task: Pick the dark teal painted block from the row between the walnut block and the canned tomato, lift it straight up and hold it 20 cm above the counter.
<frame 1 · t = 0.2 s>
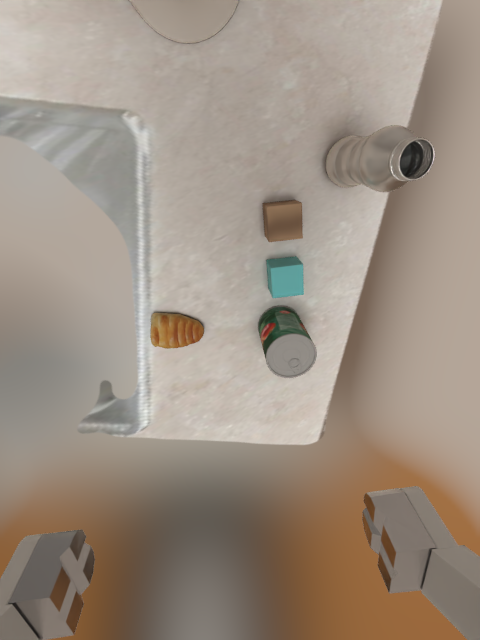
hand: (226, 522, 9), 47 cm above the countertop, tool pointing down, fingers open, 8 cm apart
plastic bottle: (342, 162, 49), on the countertop
teal block: (281, 272, 56), on the countertop
walnut block: (279, 218, 52), on the countertop
canned tomato: (278, 324, 60), on the countertop
pastry: (174, 326, 59), on the countertop
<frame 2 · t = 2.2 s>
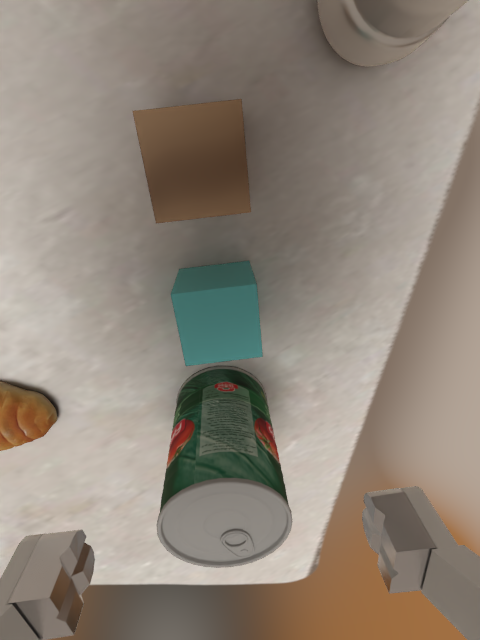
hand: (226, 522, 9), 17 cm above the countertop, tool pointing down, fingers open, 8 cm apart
plastic bottle: (364, 1, 18), on the countertop
teal block: (218, 296, 24), on the countertop
walnut block: (200, 164, 20), on the countertop
canned tomato: (222, 401, 29), on the countertop
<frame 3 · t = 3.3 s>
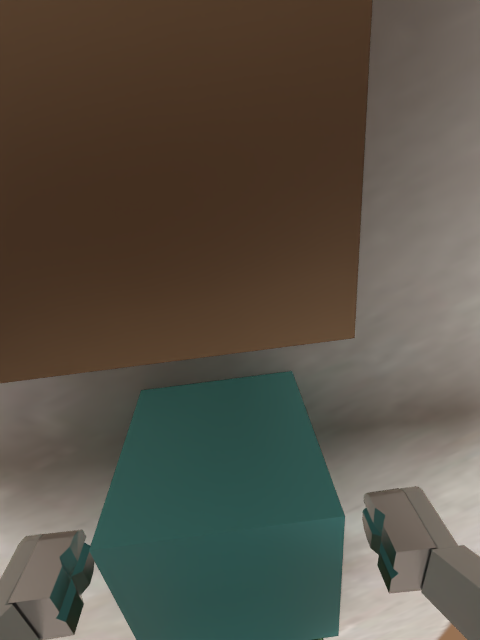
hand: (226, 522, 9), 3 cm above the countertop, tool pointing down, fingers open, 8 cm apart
teal block: (226, 434, 12), on the countertop
walnut block: (180, 163, 8), on the countertop
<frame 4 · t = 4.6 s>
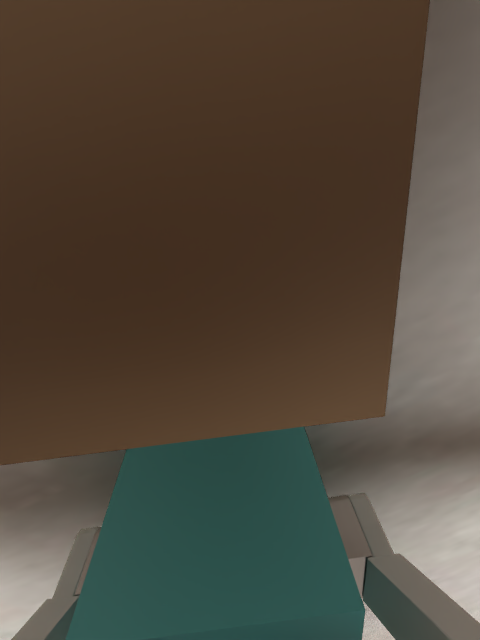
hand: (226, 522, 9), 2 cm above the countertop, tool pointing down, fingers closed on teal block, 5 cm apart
teal block: (225, 475, 11), on the countertop, touching gripper
walnut block: (176, 186, 7), on the countertop
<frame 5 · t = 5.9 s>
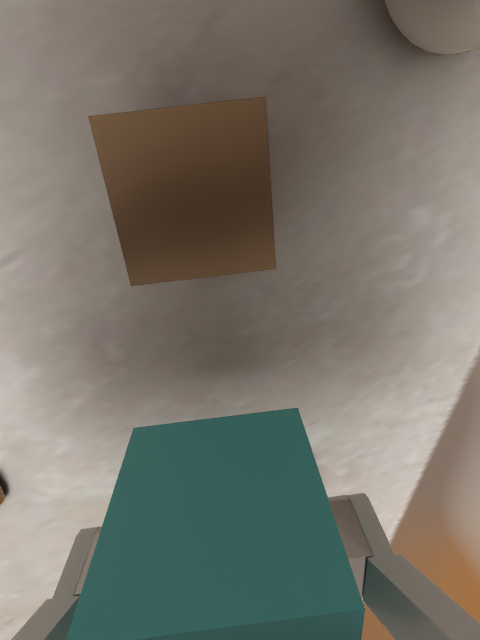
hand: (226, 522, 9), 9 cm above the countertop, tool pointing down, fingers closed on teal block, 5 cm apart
teal block: (225, 475, 11), point 8 cm above the countertop, touching gripper
walnut block: (199, 192, 15), on the countertop
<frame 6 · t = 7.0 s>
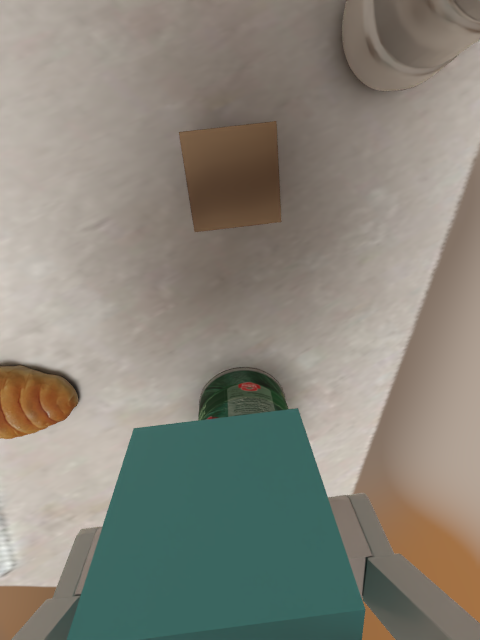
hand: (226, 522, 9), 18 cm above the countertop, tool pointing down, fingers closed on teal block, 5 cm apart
plastic bottle: (383, 33, 20), on the countertop
teal block: (225, 475, 11), point 16 cm above the countertop, touching gripper
walnut block: (230, 178, 22), on the countertop
canned tomato: (242, 402, 30), on the countertop
pastry: (17, 388, 28), on the countertop
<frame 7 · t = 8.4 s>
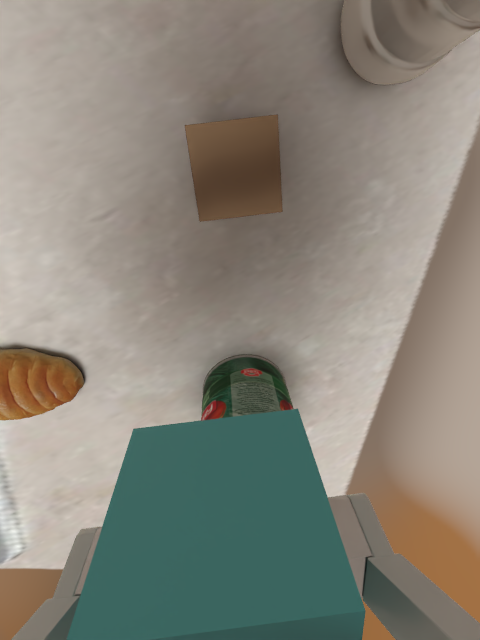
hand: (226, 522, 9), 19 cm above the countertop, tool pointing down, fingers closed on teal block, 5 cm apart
plastic bottle: (380, 28, 20), on the countertop
teal block: (225, 476, 11), point 17 cm above the countertop, touching gripper
walnut block: (232, 170, 23), on the countertop
canned tomato: (244, 388, 31), on the countertop
pastry: (24, 371, 29), on the countertop
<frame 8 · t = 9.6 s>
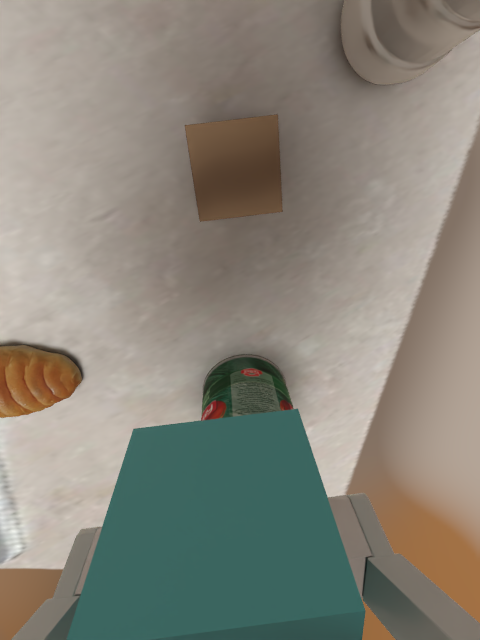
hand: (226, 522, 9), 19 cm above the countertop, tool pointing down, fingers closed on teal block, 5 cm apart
plastic bottle: (380, 28, 20), on the countertop
teal block: (225, 476, 11), point 17 cm above the countertop, touching gripper
walnut block: (232, 170, 23), on the countertop
canned tomato: (244, 388, 31), on the countertop
pastry: (22, 368, 29), on the countertop
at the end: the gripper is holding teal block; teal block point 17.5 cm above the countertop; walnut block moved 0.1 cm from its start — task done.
